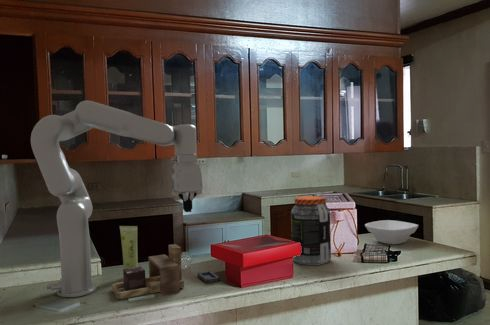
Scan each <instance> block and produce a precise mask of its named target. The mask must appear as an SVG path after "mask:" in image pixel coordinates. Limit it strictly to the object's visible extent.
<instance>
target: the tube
mask: <svg viewBox="0 0 490 325" xmlns="http://www.w3.org/2000/svg"><path fill="white" fill-rule="evenodd" d="M119 231H120V240H121V250H122V262H123V269H127V268H133V267H138V266H139V265H138V264H139V263H138V257H139V256H138V225H119Z"/></svg>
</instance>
